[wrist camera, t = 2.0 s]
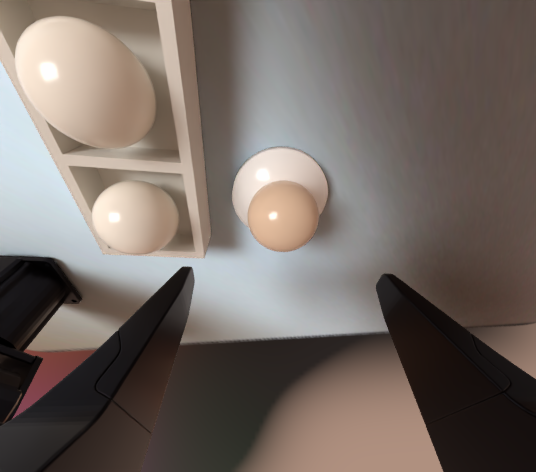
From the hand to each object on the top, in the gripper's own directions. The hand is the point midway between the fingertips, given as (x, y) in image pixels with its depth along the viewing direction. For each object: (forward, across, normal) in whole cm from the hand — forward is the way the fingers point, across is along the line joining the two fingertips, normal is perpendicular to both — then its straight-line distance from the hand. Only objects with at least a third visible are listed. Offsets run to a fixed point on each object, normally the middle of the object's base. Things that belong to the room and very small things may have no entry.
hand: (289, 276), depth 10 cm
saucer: (+8, 0, 0) cm, 8 cm away
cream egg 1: (+7, +9, -6) cm, 13 cm away
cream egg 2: (+7, +9, +1) cm, 11 cm away
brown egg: (+7, 0, 0) cm, 7 cm away
